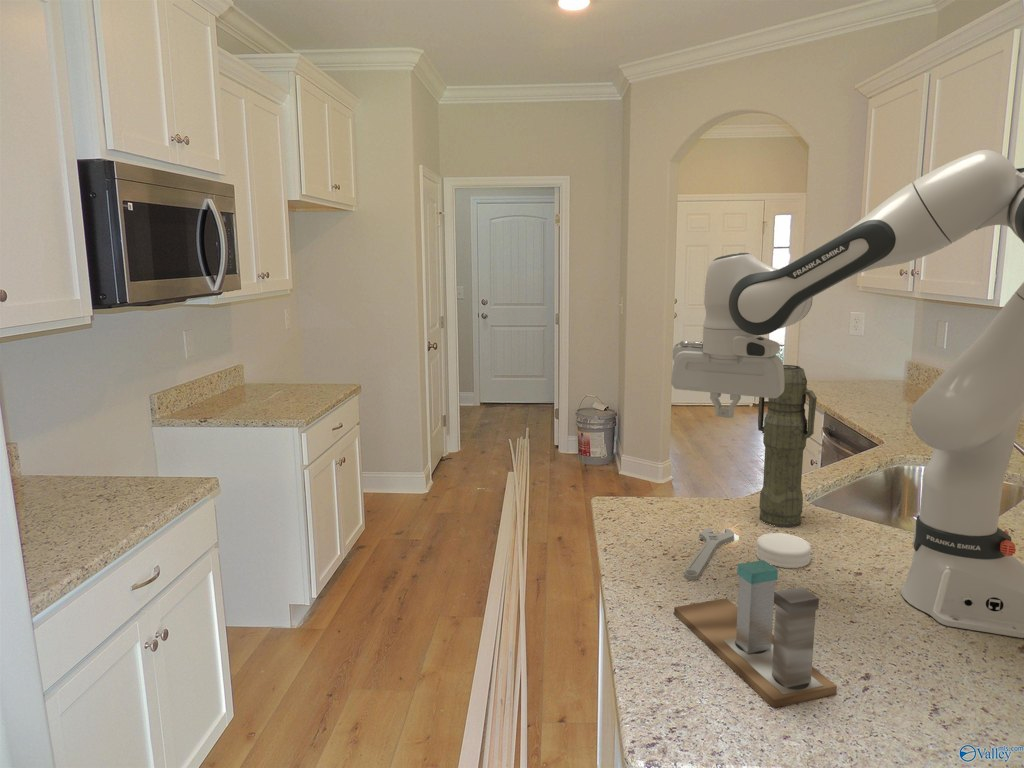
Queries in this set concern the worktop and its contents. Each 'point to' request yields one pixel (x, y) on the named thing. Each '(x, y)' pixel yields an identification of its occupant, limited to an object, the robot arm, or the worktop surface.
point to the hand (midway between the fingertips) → (724, 416)
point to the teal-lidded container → (755, 605)
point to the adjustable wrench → (706, 551)
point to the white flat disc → (783, 550)
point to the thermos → (785, 449)
